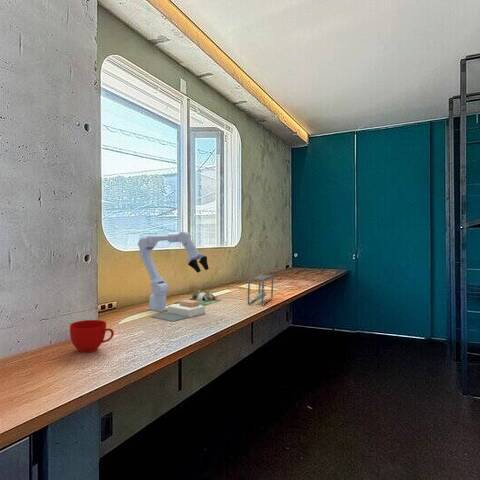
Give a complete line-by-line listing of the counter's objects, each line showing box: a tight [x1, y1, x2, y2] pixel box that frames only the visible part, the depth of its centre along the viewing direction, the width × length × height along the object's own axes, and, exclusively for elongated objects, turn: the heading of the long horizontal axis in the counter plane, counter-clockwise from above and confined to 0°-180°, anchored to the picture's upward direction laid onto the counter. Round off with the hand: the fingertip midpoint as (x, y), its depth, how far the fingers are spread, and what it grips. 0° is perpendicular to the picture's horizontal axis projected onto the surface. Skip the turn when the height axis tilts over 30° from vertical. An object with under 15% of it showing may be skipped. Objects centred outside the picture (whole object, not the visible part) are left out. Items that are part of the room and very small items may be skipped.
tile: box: [178, 298, 199, 308], centre depth 212 cm, size 9×7×2 cm
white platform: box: [166, 304, 206, 318], centre depth 210 cm, size 16×14×4 cm
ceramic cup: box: [69, 319, 115, 353], centre depth 141 cm, size 13×17×10 cm
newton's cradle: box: [247, 273, 274, 306], centre depth 252 cm, size 30×10×18 cm, turn 163°
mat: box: [150, 312, 189, 323], centre depth 198 cm, size 16×12×1 cm
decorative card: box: [173, 288, 223, 307], centre depth 246 cm, size 33×8×20 cm
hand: (203, 270), depth 206 cm, fingers open, 7 cm apart
